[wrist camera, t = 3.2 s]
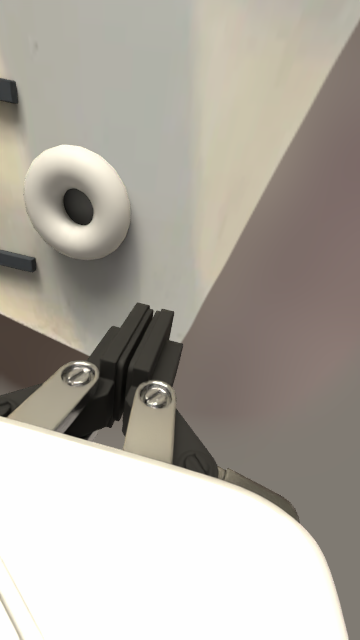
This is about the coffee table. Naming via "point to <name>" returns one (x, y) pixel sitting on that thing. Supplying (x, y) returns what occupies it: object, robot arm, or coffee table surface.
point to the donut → (93, 180)
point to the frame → (7, 93)
